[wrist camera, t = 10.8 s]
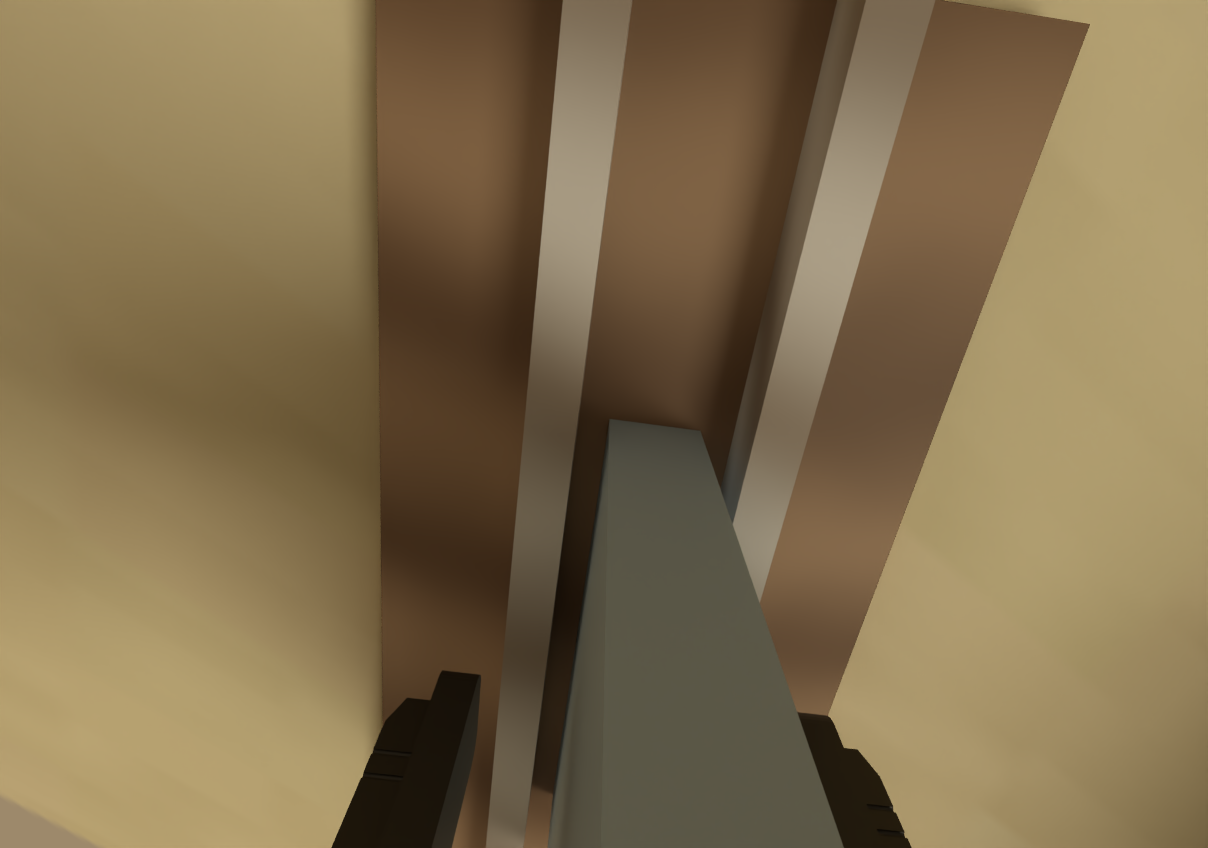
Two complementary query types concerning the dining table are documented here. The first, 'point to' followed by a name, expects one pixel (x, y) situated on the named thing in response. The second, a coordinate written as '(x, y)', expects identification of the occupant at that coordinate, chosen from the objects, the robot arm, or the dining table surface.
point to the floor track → (672, 309)
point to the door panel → (677, 674)
